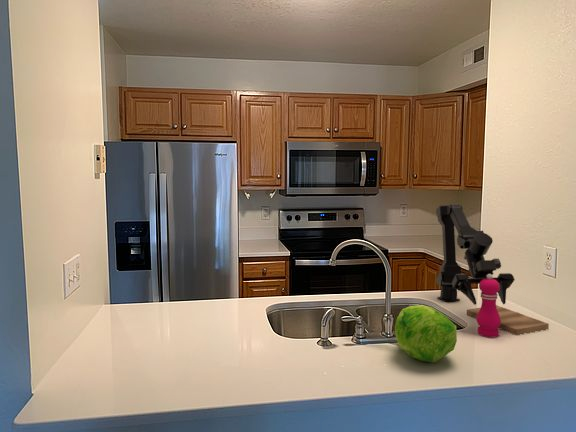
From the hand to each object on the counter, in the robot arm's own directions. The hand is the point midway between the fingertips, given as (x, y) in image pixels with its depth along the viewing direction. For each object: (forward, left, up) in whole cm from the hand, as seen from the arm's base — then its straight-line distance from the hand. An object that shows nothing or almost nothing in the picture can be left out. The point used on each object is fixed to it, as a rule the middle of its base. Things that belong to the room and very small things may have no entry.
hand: (489, 303), depth 136 cm
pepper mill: (-1, 0, -10) cm, 11 cm away
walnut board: (-8, +14, -11) cm, 19 cm away
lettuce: (+6, -30, -10) cm, 32 cm away
